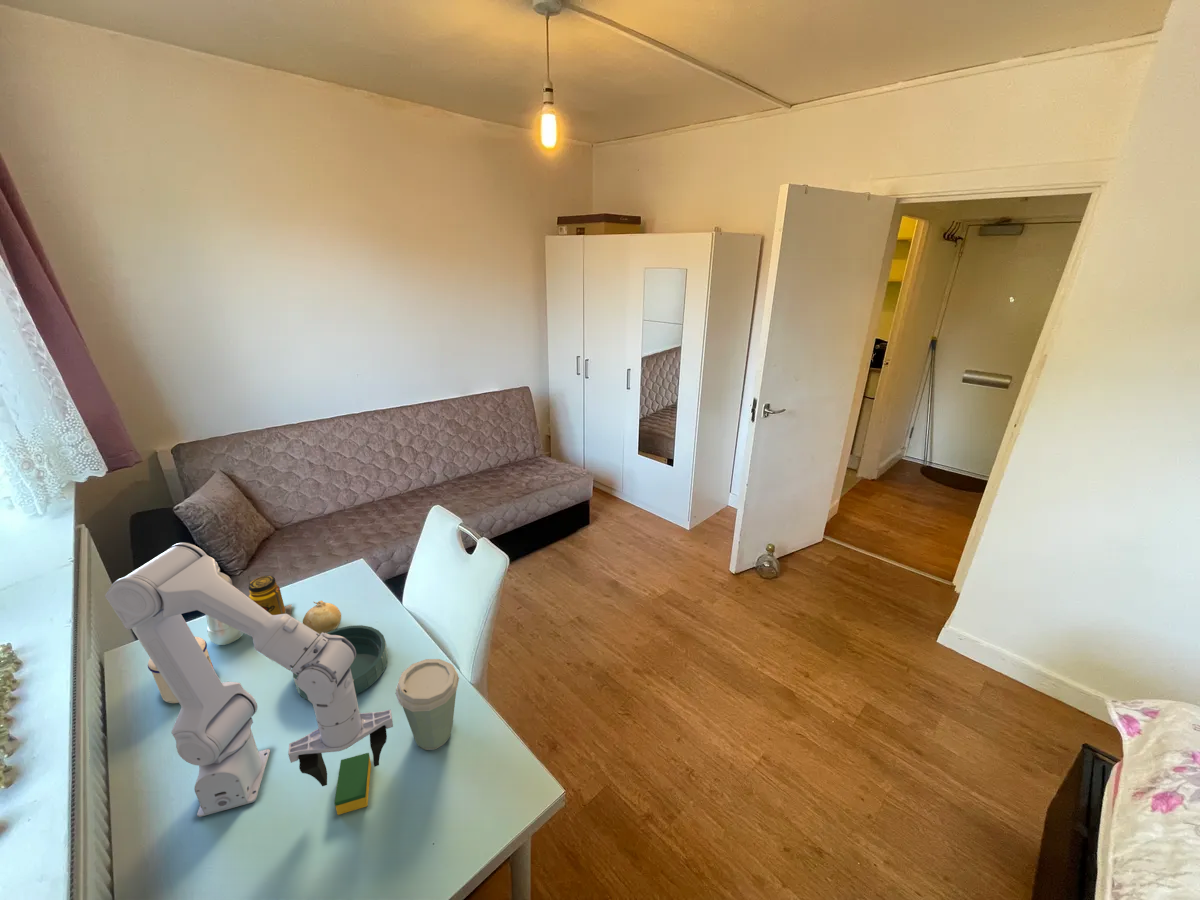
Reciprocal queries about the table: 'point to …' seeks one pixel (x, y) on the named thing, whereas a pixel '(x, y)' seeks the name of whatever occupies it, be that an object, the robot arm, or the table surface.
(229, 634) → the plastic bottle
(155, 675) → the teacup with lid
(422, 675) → the disposable coffee cup
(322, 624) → the onion
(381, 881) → the table surface
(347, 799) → the sponge
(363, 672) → the bowl
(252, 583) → the condiment
